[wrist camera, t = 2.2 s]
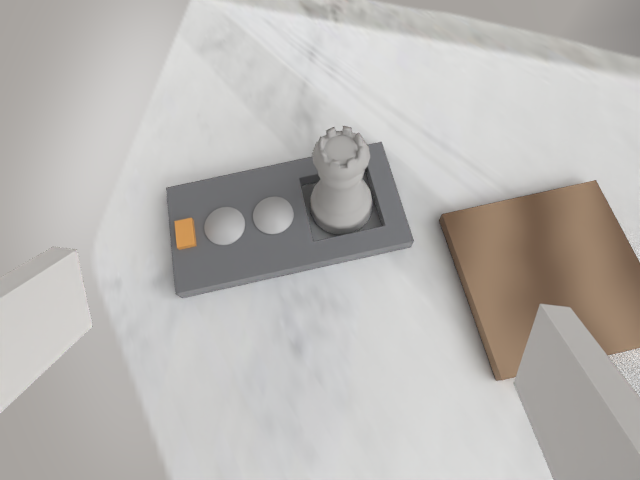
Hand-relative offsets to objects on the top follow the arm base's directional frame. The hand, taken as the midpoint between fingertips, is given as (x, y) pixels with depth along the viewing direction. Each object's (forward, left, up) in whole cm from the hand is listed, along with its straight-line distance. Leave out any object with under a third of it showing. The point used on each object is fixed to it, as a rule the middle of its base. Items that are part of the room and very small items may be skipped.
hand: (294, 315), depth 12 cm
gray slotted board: (0, -10, -15) cm, 18 cm away
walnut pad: (-16, -2, -15) cm, 22 cm away
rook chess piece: (-4, -10, -15) cm, 19 cm away
